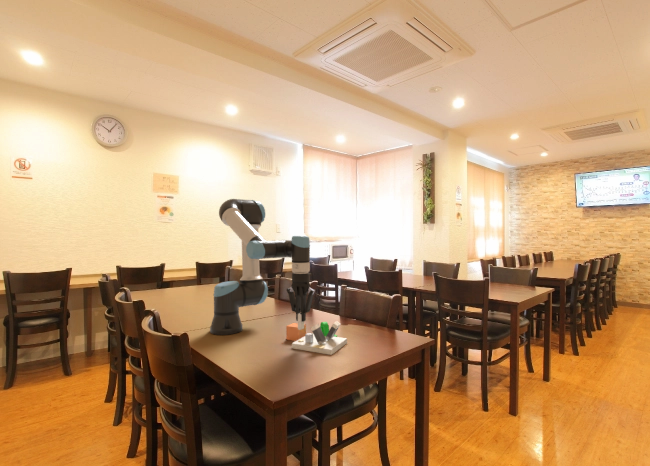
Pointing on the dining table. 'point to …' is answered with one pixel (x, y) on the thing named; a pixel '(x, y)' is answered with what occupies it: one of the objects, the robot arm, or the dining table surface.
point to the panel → (324, 348)
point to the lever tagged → (318, 334)
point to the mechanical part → (325, 328)
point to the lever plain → (333, 330)
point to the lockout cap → (294, 332)
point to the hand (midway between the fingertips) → (300, 328)
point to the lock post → (309, 338)
